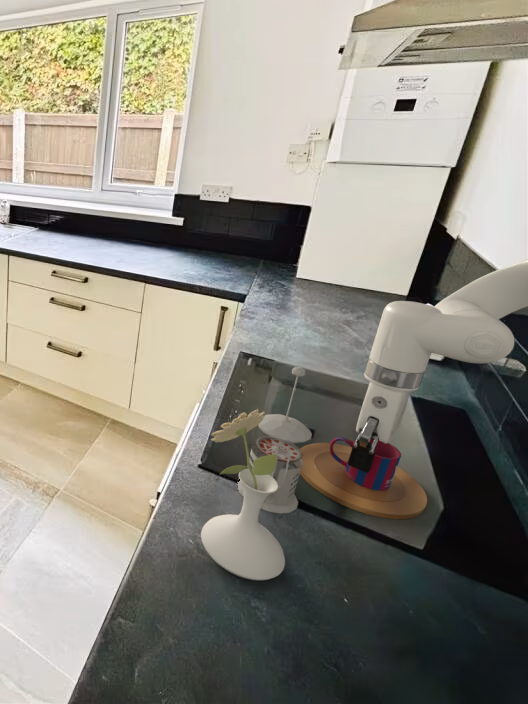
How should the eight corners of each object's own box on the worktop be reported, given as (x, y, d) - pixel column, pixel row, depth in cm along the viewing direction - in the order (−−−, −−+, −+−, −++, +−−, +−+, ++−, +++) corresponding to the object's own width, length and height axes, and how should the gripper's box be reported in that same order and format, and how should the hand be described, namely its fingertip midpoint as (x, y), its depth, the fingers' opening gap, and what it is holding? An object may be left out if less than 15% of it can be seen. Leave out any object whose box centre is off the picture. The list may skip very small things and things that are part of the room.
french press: (296, 485, 84) (331, 362, 75) (301, 528, 74) (343, 393, 65) (237, 468, 88) (264, 350, 79) (235, 508, 78) (266, 377, 69)
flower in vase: (258, 526, 74) (293, 390, 66) (299, 589, 64) (347, 436, 55) (178, 525, 74) (203, 389, 65) (206, 587, 63) (240, 435, 55)
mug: (384, 496, 80) (396, 464, 78) (320, 468, 87) (329, 437, 84) (393, 479, 84) (405, 448, 82) (331, 453, 91) (340, 424, 89)
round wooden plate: (435, 484, 85) (437, 479, 84) (412, 538, 72) (414, 533, 72) (315, 435, 99) (316, 431, 99) (278, 474, 86) (279, 469, 86)
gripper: (409, 398, 70) (378, 489, 76) (431, 366, 81) (402, 448, 86) (352, 380, 75) (326, 466, 81) (379, 353, 86) (355, 431, 92)
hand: (365, 457), depth 84 cm, fingers open, 9 cm apart
